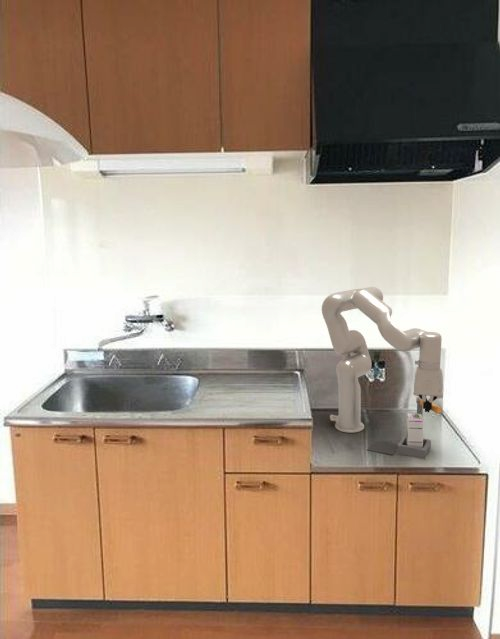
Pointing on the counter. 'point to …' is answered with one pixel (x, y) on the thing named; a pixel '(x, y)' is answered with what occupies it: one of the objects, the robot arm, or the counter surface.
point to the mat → (383, 447)
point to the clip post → (420, 409)
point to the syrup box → (414, 430)
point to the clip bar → (434, 407)
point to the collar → (414, 448)
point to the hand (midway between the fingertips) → (427, 410)
